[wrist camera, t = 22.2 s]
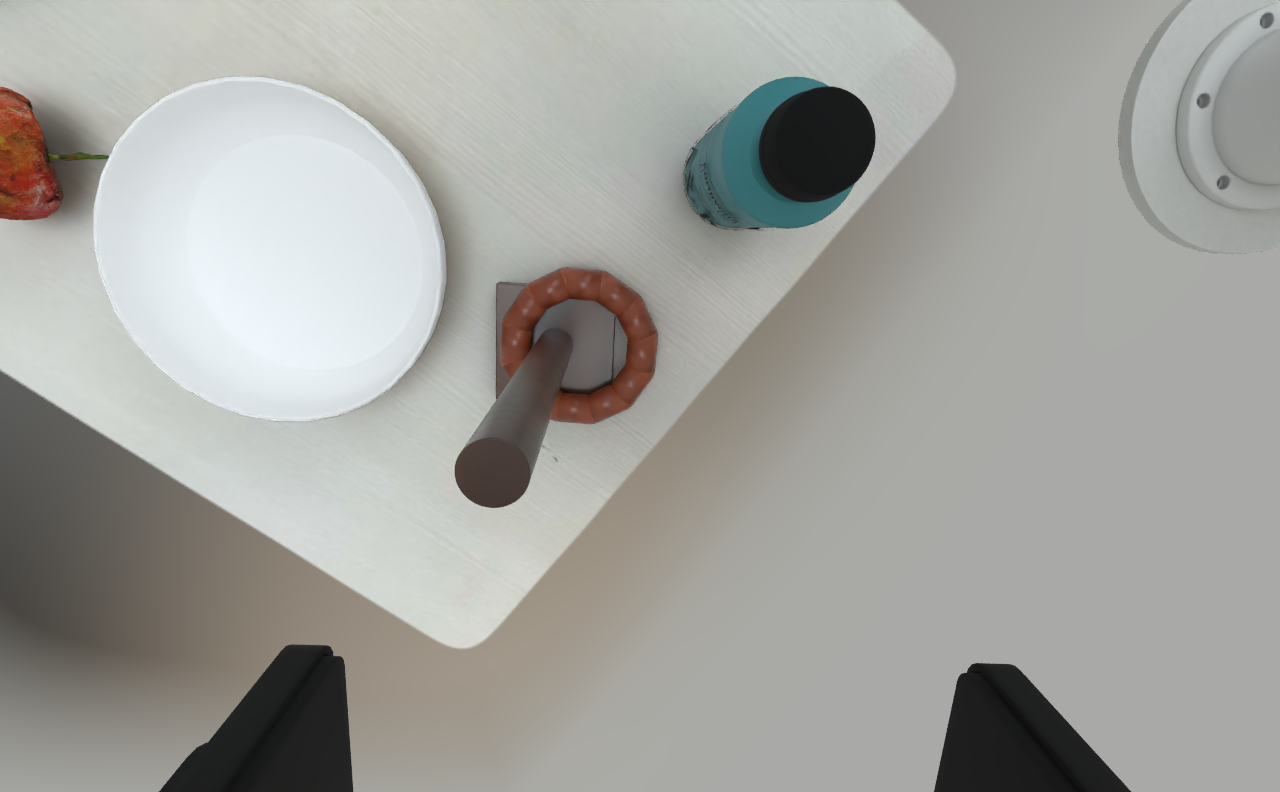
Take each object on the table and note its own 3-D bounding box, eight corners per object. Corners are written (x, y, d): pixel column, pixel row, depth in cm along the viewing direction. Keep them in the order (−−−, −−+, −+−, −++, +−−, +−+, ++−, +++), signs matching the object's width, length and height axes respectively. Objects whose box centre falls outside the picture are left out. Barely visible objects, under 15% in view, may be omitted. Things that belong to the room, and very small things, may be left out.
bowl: (123, 315, 43) (46, 328, 37) (226, 35, 39) (158, 0, 33) (395, 444, 46) (363, 475, 40) (515, 196, 42) (499, 191, 36)
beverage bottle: (725, 106, 42) (826, -5, 22) (796, 177, 43) (951, 132, 23) (658, 184, 43) (699, 144, 23) (730, 252, 44) (825, 268, 24)
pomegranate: (102, 97, 42) (-130, 72, 36) (107, 97, 37) (-162, 68, 30) (123, 214, 44) (-90, 210, 38) (131, 229, 39) (-114, 227, 33)
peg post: (616, 288, 44) (623, 357, 20) (610, 400, 46) (611, 589, 22) (499, 281, 44) (358, 343, 19) (498, 395, 46) (370, 582, 21)
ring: (663, 275, 43) (665, 277, 41) (647, 424, 45) (649, 432, 43) (506, 260, 42) (501, 262, 40) (499, 412, 45) (494, 420, 43)
